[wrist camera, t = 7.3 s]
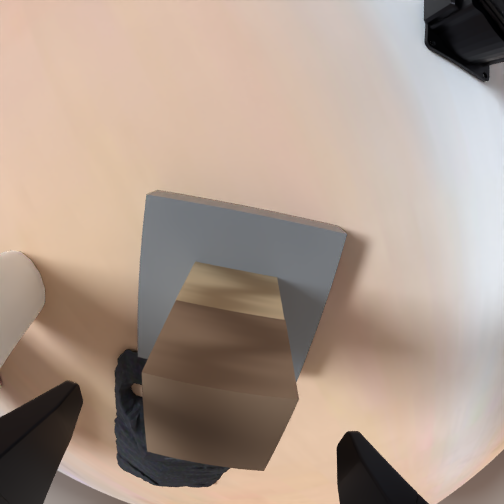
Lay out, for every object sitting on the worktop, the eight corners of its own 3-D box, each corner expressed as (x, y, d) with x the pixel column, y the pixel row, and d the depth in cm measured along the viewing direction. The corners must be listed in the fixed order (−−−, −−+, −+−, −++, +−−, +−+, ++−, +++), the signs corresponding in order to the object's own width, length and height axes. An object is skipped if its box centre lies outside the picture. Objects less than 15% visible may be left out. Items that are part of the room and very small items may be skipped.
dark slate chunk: (106, 448, 29) (95, 474, 24) (126, 330, 23) (104, 366, 18) (215, 484, 31) (212, 512, 26) (294, 390, 24) (300, 430, 20)
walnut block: (285, 320, 13) (298, 399, 9) (261, 394, 15) (263, 470, 10) (175, 299, 13) (141, 372, 8) (170, 378, 15) (147, 451, 10)
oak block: (277, 277, 18) (284, 320, 13) (259, 343, 20) (261, 395, 15) (195, 261, 18) (175, 300, 13) (186, 329, 19) (169, 378, 15)
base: (338, 226, 19) (347, 234, 17) (292, 369, 23) (294, 385, 21) (156, 190, 18) (146, 194, 17) (145, 341, 22) (137, 356, 20)
